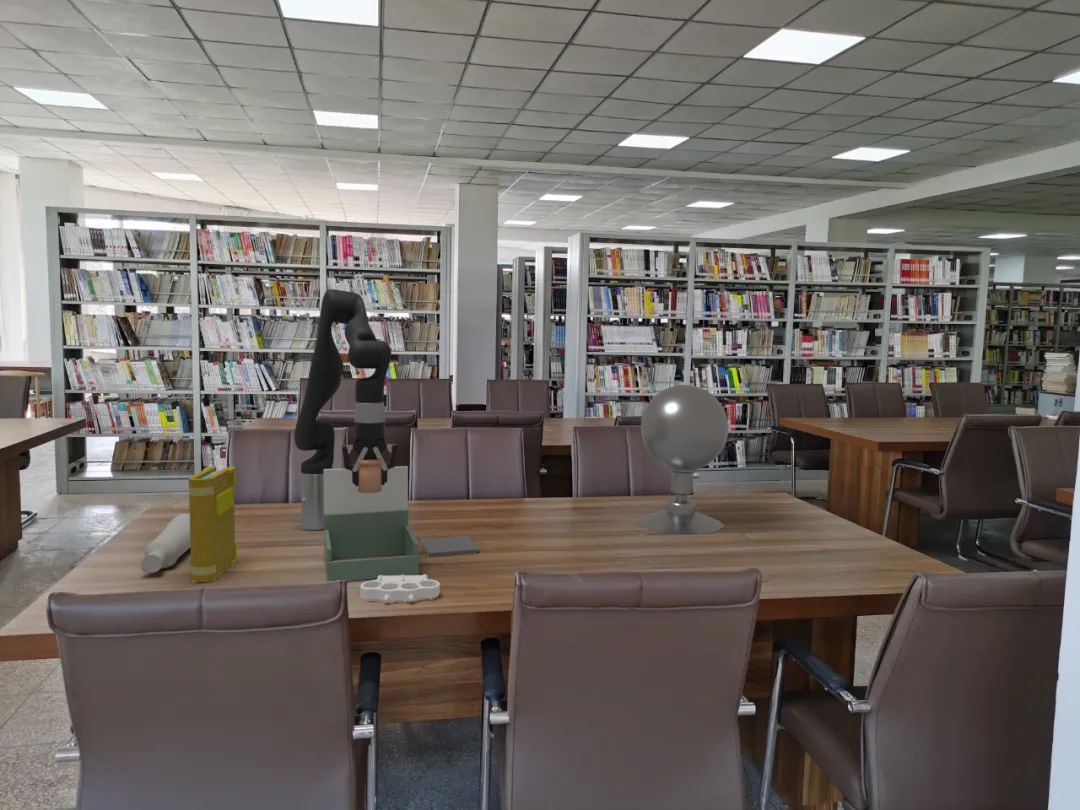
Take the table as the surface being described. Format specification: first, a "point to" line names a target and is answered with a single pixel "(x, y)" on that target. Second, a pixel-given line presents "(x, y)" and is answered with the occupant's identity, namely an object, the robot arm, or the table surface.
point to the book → (212, 523)
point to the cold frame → (367, 527)
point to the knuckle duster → (400, 588)
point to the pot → (370, 476)
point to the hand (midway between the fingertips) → (369, 484)
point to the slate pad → (449, 545)
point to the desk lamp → (683, 452)
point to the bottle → (168, 544)
